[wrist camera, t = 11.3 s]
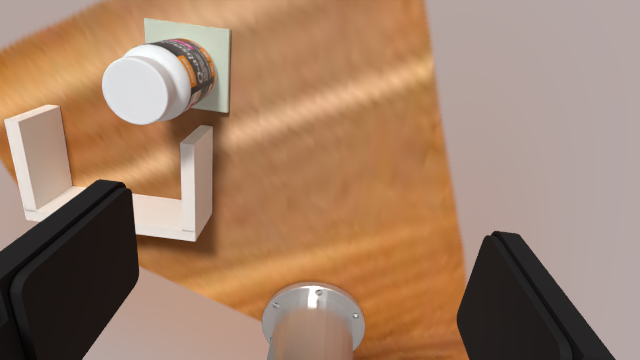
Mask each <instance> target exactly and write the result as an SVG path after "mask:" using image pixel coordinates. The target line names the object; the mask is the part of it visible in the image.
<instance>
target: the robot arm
mask: <svg viewBox="0 0 640 360" xmlns="http://www.w3.org/2000/svg"><path fill="white" fill-rule="evenodd" d="M138 277H139V264H138V253H137V242H136V230H135V219H134V208H133V197H132V191H131V190H130V189H128V188H126V186H125V184H124V183H123V182H117V181H109V180H101V179H99V180H97V181H95V182H94V183H93V184H91V185H90V186H89V187H87V188H86V189H85V190H83V191H82V192H80V193H79V194H78V195H76V196H75V197H74V198H72V199H71V200H70V201H68V202H67V203H66V204H64V205H63V206H61V207H60V208H59V209H57V210H56V211H55V212H53V213H52V214H51V215H49V216H48V217H47V218H45V219H44V220H42V221H41V222H40V223H38V224H37V225H36V226H34V227H33V228H32V229H30V230H29V231H28V232H26V233H25V234H23V235H22V236H21V237H20V238H18V239H17V240H15V241H14V242H13V243H11V244H10V245H9V246H7V247H6V248H4V249H3V250H2V251H0V360H82V359H83V357H84V356H85V355H86V353H87V352H88V350H89V349H90V348H91V346H92V345H93V343H94V342H95V341H96V339H97V338H98V337H99V335H100V334H101V332H102V331H103V330H104V328H105V327H106V325H107V324H108V323H109V321H110V320H111V318H112V317H113V316H114V314H115V313H116V312H117V310H118V309H119V307H120V306H121V305H122V303H123V302H124V300H125V299H126V298H127V296H128V295H129V293H130V292H131V291H132V289H133V288H134V286H135V285H136V283H137V280H138ZM457 326H458V329H459V332H460V335H461V337H462V340H463V343H464V346H465V348H466V351H467V354H468V357H469V359H470V360H616V359H615V358H614V357H613V356H612V354H611V353H610V352H609V350H608V349H607V348H606V347H605V345H604V344H603V343H602V341H601V340H600V339H599V337H598V336H597V335H596V334H595V332H594V331H593V330H592V328H591V327H590V326H589V325H588V324H587V322H586V320H585V319H584V318H583V317H582V315H581V314H580V313H579V311H578V310H577V309H576V308H575V306H574V305H573V304H572V302H571V301H570V300H569V298H568V297H567V296H566V295H565V293H564V292H563V291H562V289H561V288H560V287H559V285H558V284H557V283H556V282H555V280H554V279H553V278H552V276H551V275H550V274H549V273H548V271H547V270H546V269H545V267H544V266H543V265H542V263H541V262H540V261H539V259H538V258H537V257H536V256H535V254H534V253H533V252H532V250H531V249H530V248H529V246H528V245H527V244H526V243H525V241H524V240H523V239H522V238H521V236H520V235H519V234H516V233H508V232H500V231H494V232H493V233H492V234H491V236H489V235H487V236H485V238H484V240H483V242H482V245H481V248H480V250H479V253H478V256H477V259H476V262H475V265H474V267H473V270H472V273H471V276H470V279H469V282H468V284H467V287H466V290H465V293H464V296H463V299H462V301H461V304H460V307H459V310H458V313H457ZM262 329H263V333H264V335H265V338H266V339H267V341H268V343H269V344H270V347H269V352H268V357H267V360H353V351H354V350H355V349H356V348H357V347H358V346H359V344H360V343H361V341H362V339H363V336H364V333H365V319H364V315H363V311H362V309H361V307H360V306H359V304H358V303H357V301H356V300H355V299H354V298H353V297H352V296H351V295H349V294H348V293H347V292H346V291H344V290H342V289H340V288H338V287H336V286H333V285H330V284H326V283H320V282H302V283H296V284H293V285H290V286H287V287H285V288H283V289H281V290H280V291H278V292H277V293H276V294H274V295H273V296H272V298H271V299H270V300H269V301H268V303H267V305H266V307H265V309H264V313H263V317H262Z"/></svg>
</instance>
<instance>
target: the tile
mask: <svg viewBox="0 0 640 360" xmlns="http://www.w3.org/2000/svg"><path fill="white" fill-rule="evenodd" d="M144 25H145V41H146V44H148V43H154V42H158V41H163V40H169V39H175V38H186V39H190V40H193V41H196V42H197V43H199V44H200V45H202V46H203V47H204V48H205V49H206V50H207V51H208V52H209V53H210V55H211V56H212V58H213V60H214V63H215V67H216V73H217V78H216V82H215V86H214V88H213V90H212V91H211V93H210V94H209V95H208V96H207V97H205V98H204V99H203V100H201V101H200V102H198V103H197V104H195V105H194V106H192V107H191V108H195V109H203V110H210V111H218V112H225V113H227V112H228V111H229V82H230V42H231V29H225V28H217V27H210V26H203V25H195V24H188V23H180V22H173V21H165V20H158V19H150V18H144Z"/></svg>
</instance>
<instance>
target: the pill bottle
mask: <svg viewBox="0 0 640 360" xmlns="http://www.w3.org/2000/svg"><path fill="white" fill-rule="evenodd" d="M216 78H217V73H216V67H215V63H214V60H213V58H212V56H211V55H210V53H209V52H208V51H207V50H206V49H205V48H204V47H203V46H202V45H200V44H199V43H197V42H196V41H193V40H190V39H186V38H175V39H169V40H163V41H158V42H154V43H148V44H142V45H140V46H136V47H134V48H132V49H131V50H129V51H128V52H127V53H126V54H125V55H124V56H123V57H122V58H120V59H118V60H116V61H114V62H113V63H111V64H110V65H109V66H108V68H107V69H106V71H105V73H104V75H103V79H102V89H103V94H104V97H105V100H106V102H107V104H108V105H109V107H110V108H111V109H112V110H113V111H114V113H115V114H117V115H118V116H119V117H120V118H122V119H124V120H125V121H128V122H130V123H133V124H138V125H146V124H151V123H154V122H156V121H166V120H171V119H173V118H175V117H177V116H179V115H180V114H182V113H183V112H185V111H186V110H188V109H189V108H191V107H192V106H194V105H195V104H197V103H198V102H200V101H201V100H203V99H204V98H205V97H207V96H208V95H209V94H210V93H211V91H212V90H213V88H214V86H215V82H216Z"/></svg>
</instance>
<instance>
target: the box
mask: <svg viewBox="0 0 640 360" xmlns="http://www.w3.org/2000/svg"><path fill="white" fill-rule="evenodd" d="M4 121H5V126H6V130H7V135H8V139H9V144H10V148H11V153H12V157H13V162H14V166H15V171H16V175H17V180H18V184H19V189H20V193H21V198H22V202H23V206H24V211H25V216H26V220H32V221H40V222H41V221H42V220H44V219H45V218H47V217H48V216H49V215H51V214H52V213H53V212H55V211H56V210H57V209H59V208H60V207H61V206H63V205H64V204H66V203H67V202H68V201H70V200H71V199H72V198H74V197H75V196H76V195H78V194H79V193H80V192H82V191H83V190H85V189H86V188H85V187H77V186H72V180H71V174H70V167H69V161H68V155H67V149H66V142H65V136H64V130H63V123H62V117H61V111H60V106H55V105H45V106H42V107H39V108H36V109H34V110H31V111H28V112H25V113H22V114H19V115H17V116H14V117H11V118H8V119H5V120H4ZM180 155H181V189H182V200H177V199H170V198H162V197H154V196H146V195H139V194H132V197H133V208H134V219H135V230H136V234H140V235H148V236H156V237H164V238H171V239H179V240H187V241H196V240H197V238H198V236H199V235H200V233H201V231H202V230H203V228H204V226H205V225H206V223H207V221H208V220H209V218H210V216H211V215H212V164H213V126H207V125H200V126H199V127H198V128H196V129H195V130H194V131H193V132H192V133H191V134H190V135H189V136H187V137H186V138H185V139H184V140H183V141H182V142H181V143H180Z"/></svg>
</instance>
